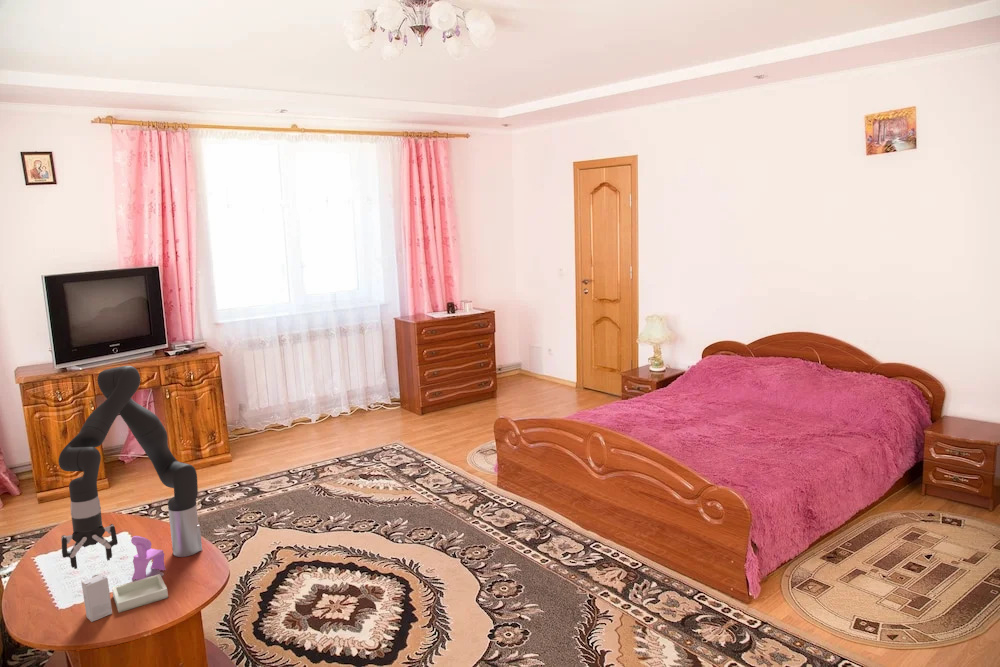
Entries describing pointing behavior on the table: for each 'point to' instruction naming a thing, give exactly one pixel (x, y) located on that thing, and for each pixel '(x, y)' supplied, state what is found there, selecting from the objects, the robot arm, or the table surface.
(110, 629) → the table surface
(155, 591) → the tray
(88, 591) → the skincare box
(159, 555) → the toy chair
